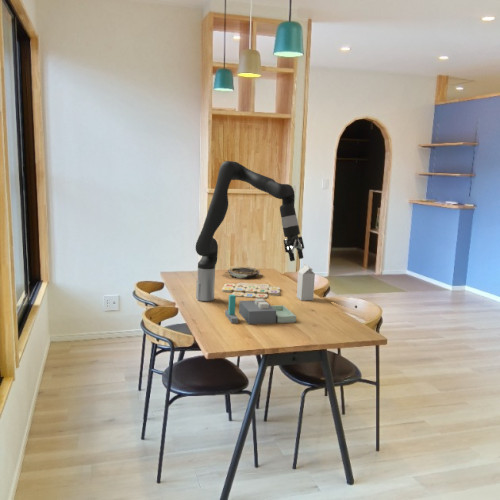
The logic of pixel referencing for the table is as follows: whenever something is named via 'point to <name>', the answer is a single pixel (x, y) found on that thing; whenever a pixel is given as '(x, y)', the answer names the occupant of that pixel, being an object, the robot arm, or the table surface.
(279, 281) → the table surface
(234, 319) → the scraper
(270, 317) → the block
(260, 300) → the ceramic tile
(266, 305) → the ceramic tile
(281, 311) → the box
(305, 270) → the milk carton
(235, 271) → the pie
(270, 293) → the alphabet tiles
